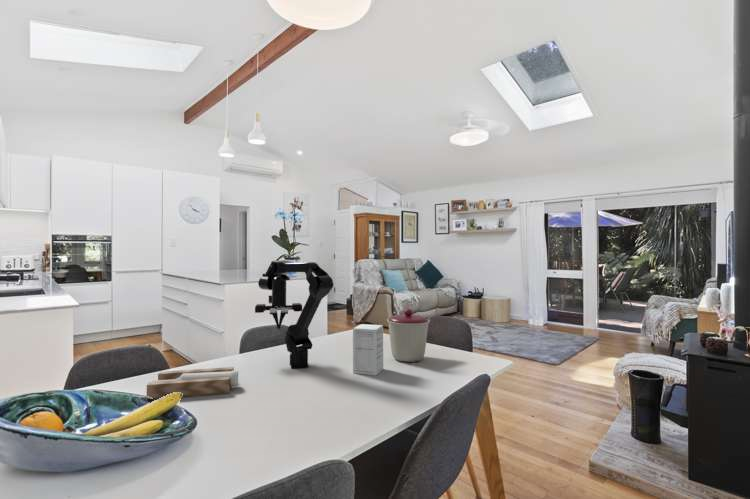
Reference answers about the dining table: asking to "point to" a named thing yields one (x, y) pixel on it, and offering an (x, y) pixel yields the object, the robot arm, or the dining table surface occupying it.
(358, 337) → the supplement box
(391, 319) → the canister
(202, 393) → the u rest
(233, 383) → the bottle
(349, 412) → the dining table surface
